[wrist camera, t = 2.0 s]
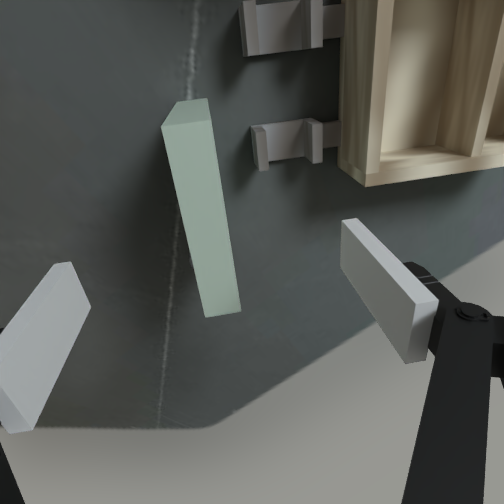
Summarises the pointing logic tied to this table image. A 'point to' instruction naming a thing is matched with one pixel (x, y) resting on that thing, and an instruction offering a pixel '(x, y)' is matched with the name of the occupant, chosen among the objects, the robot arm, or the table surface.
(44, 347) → the robot arm
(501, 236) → the table surface
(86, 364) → the table surface
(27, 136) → the table surface
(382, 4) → the wooden divided box
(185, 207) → the block
